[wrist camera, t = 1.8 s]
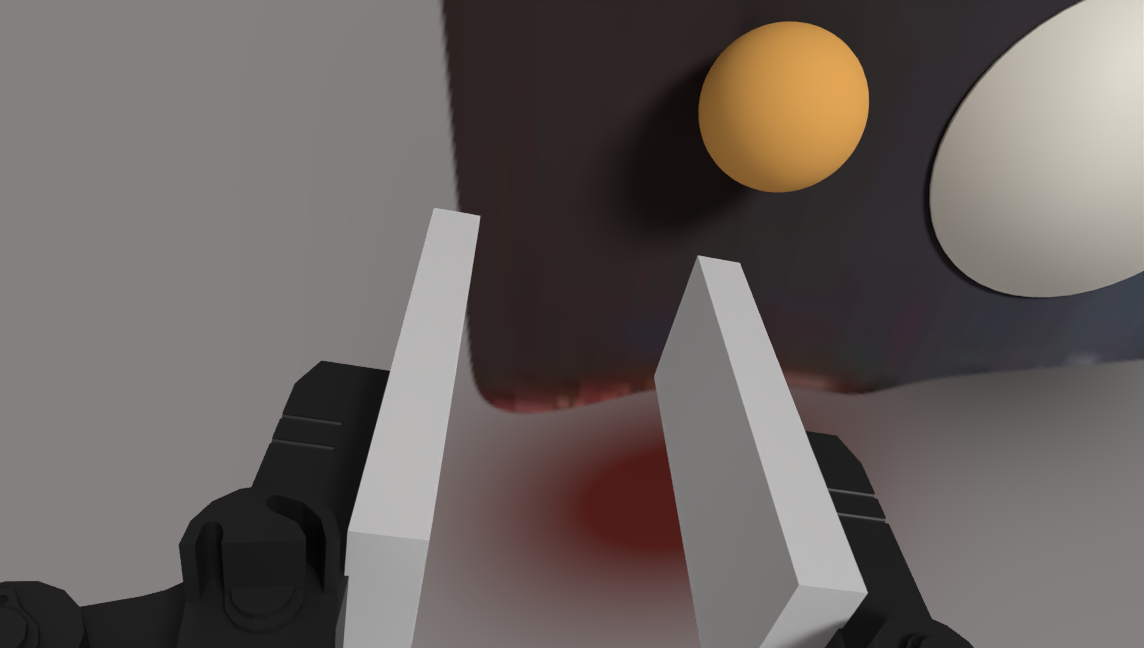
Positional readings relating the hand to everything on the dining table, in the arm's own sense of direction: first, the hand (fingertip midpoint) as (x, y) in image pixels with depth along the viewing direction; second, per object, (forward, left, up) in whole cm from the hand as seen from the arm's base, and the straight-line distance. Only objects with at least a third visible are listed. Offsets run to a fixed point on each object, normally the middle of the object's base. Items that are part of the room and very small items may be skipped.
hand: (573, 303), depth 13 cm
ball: (-8, 0, -14) cm, 16 cm away
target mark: (-22, 0, -17) cm, 27 cm away
